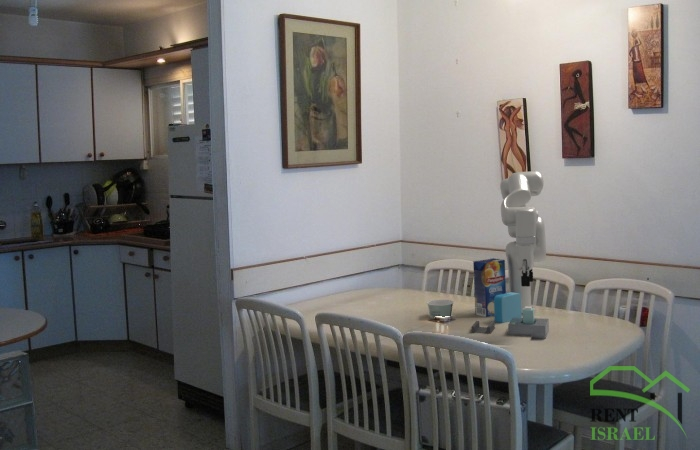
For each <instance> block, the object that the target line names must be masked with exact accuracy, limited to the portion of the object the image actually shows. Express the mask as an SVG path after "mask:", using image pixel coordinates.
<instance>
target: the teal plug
mask: <svg viewBox="0 0 700 450" xmlns="http://www.w3.org/2000/svg"><path fill="white" fill-rule="evenodd" d="M532 307H533V306H532ZM532 307H526V306H525V308H523V310H522V311H523V314H522V318H523V323H534V318H535V311H534V308H535V307H534V308H532Z"/></svg>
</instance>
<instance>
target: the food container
mask: <svg viewBox="0 0 700 450" xmlns="http://www.w3.org/2000/svg"><path fill="white" fill-rule="evenodd" d="M454 303H455V301H454V300H451V299H433V300H429V301H427V302H426V305H427V307H428V311H429V316H430V318H431V319H435V318H434V317H435V316H442V317H445V316H451V317H452V315H453V314H452V312H453V311H452V310H453V306H454V305H453V304H454Z"/></svg>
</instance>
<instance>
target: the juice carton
mask: <svg viewBox="0 0 700 450" xmlns="http://www.w3.org/2000/svg"><path fill="white" fill-rule="evenodd" d="M505 260H506V259H501V258H487V259H480V260H473V282H474V283H473V284H474V286H473V287H474V290H473V291H474V308H475V310H474V311H475V312H474V313H475V315H477V316H481V317H484V318H489V317H493V316H494V317H495V314H494V297H495V296H496V295H501V294H505V293H507V291H506V290H507V287H506V285H507V284H506V263H505V262H506V261H505Z"/></svg>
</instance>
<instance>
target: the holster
mask: <svg viewBox="0 0 700 450" xmlns="http://www.w3.org/2000/svg"><path fill="white" fill-rule="evenodd" d="M495 323H496V322H495V320H494V321H493V320H492V321H491V322H489V324H488V325H487V326H480V320H475V322H474V323H472V325H471V327H470V329H471V334H492V333H494V330H495V329H496V326H495Z"/></svg>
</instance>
